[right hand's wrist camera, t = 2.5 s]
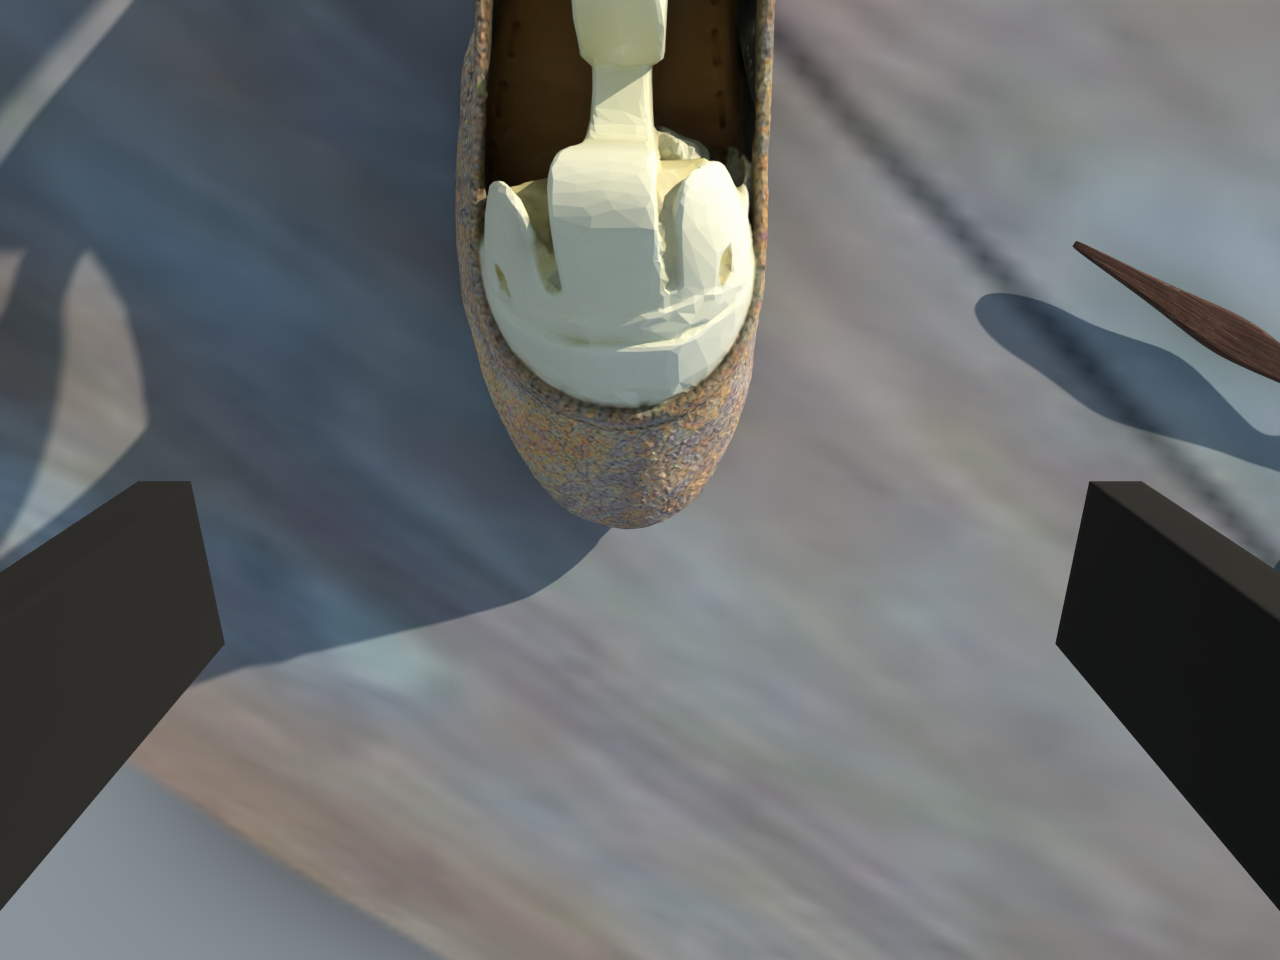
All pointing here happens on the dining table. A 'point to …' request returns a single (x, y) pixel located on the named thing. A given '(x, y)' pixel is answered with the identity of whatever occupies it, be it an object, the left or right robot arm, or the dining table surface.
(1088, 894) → the dining table surface
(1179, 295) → the fork
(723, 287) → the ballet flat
